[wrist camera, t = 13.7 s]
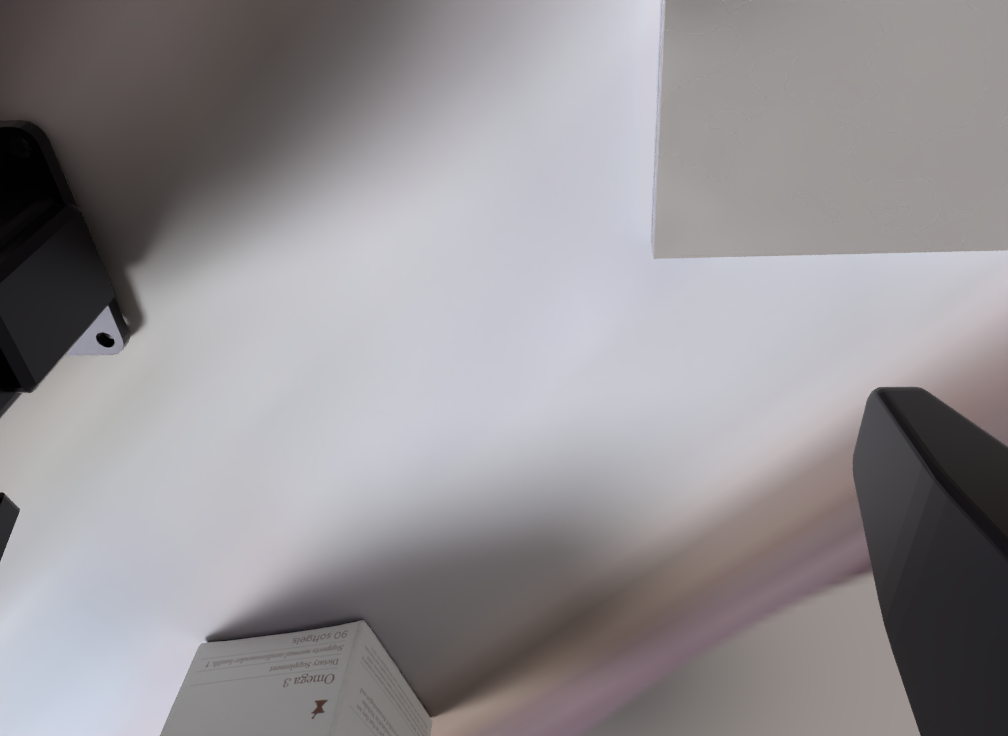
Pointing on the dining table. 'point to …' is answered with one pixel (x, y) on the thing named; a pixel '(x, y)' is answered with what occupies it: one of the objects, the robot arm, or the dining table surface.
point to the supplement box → (297, 688)
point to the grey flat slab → (831, 127)
